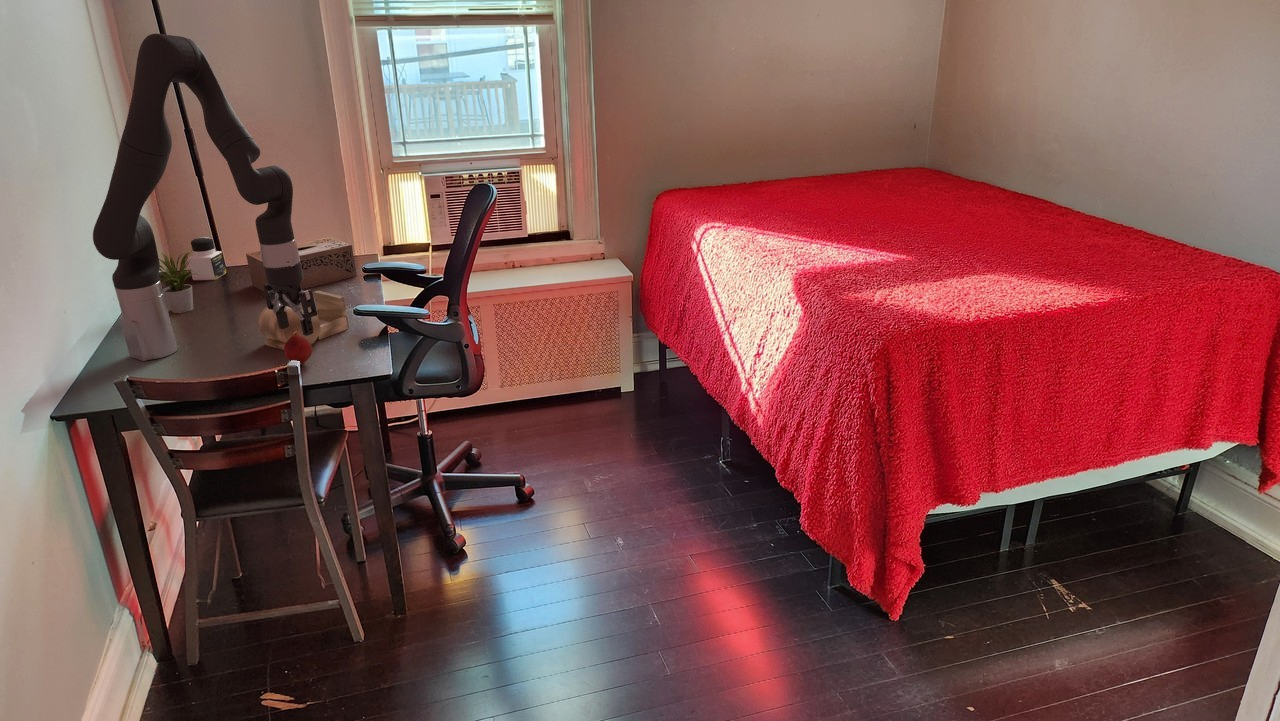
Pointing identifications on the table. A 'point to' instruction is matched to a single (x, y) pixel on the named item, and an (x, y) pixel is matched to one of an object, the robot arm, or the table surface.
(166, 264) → the house plant
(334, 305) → the pit walls
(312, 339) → the roller
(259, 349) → the table surface
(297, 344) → the onion
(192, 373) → the table surface
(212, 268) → the medicine bottle
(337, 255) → the tissue box cover
